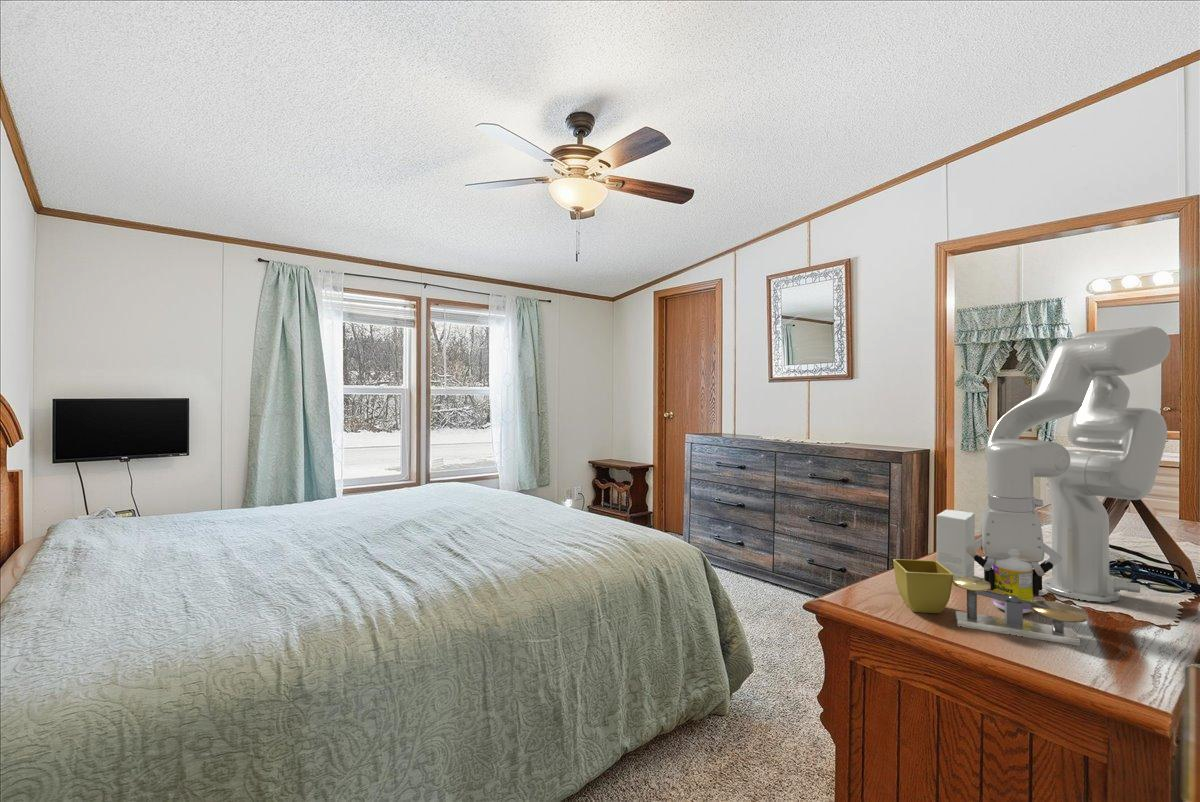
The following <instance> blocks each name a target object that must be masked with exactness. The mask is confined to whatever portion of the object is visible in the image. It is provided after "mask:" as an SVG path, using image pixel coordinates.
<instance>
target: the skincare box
mask: <svg viewBox="0 0 1200 802" xmlns="http://www.w3.org/2000/svg"><path fill="white" fill-rule="evenodd" d="M975 517H976V514H975V512H969V511H961V510H955V509H948V508H947V509H945V510H942V511H941V512H939V513H938V514H936V561H937V562H939V563H940V564H941V565H943V566H944V567H945V568H946V569H948V570H949V571H950V572H952V573H953V578H955V577H973V578H974V576H975V560H974V559H973V558H972V557H971V556H970V555H969V554H968V553H967V552H966V550H965V547H967V546H968V545H970V544H971V543H973V542H974V541H975V535H976V534H975V528H976V527H975V522H976V520H975V519H976V518H975Z"/></svg>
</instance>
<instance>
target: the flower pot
mask: <svg viewBox="0 0 1200 802" xmlns="http://www.w3.org/2000/svg"><path fill="white" fill-rule="evenodd" d="M892 560H893V563H892V564H893V569H894V577H895V585H896V587H897V590H898V592H899V595H900V596H901V598H902V600H903V603H904V604H906V606H907V607H908V608H909V609H910V610H911V612H914V613H925V614H926V613H927V614H928V613H929V614H941V612H942V611H944V609H945V608H946V606H947V605H948V602H949V601H950V598H951V593H952V586H953V573H952V572H950V571H949V570H948V569H946V568H945V567H944V566H943V565H941V564H940V563H939V562H937V560H930V559H929V560H927V559H924V560H923V559H906V558H905V559H904V558H903V559H902V558H901V559H899V558H894V559H892Z"/></svg>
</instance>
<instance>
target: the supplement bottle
mask: <svg viewBox="0 0 1200 802" xmlns="http://www.w3.org/2000/svg"><path fill="white" fill-rule="evenodd" d="M1008 554H1010V555H1009V556H1011V557H1010V558H1009V559H996V560H995V562H994V564H993V565H992V569H993V572H994V590H992V592H995V593H998V594H1002V595H1006V596H1010V595H1014V596H1017V597H1018V598H1019V599H1021V600H1025V601H1029V602H1034V593H1033V569H1034V568H1033V566H1032V565H1031V563H1030V562H1025V561H1021V560H1019V559H1018V558H1017V557H1016V556H1018V555H1020V554H1019V552H1018V550H1017V549H1010V550H1009V552H1008ZM992 603H993V605H994V606H996V607H997V608H999V609H1000V610H1003V611H1005V602H1004V601H1000V600H996V599H992ZM1031 612H1032V611H1031V610H1030V608H1026V607H1023V614H1028V613H1031Z"/></svg>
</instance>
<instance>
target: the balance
mask: <svg viewBox="0 0 1200 802" xmlns="http://www.w3.org/2000/svg"><path fill="white" fill-rule="evenodd" d="M952 585H954V586H955V587H958V588H960V589H962V590H963V589H964V590H966V611H959V610H955V620H957V621H956V624H957V627H960V626H962V627H961V628H965V629H966V628H967V629H973V630H979V631H986V632H991V633H998V634H1002V635H1003V634H1004V635H1009V634H1011V635H1010V636H1015V635H1017V637H1021V636H1023V637H1022V638H1029V639H1035V640H1041V641H1045V642H1052V643H1060V644H1063V645H1064V644H1066V645H1072V646H1077V647H1080V646H1081V641H1080V640H1081V639H1080V637H1079V636H1078V635H1077V633H1076V631H1075V630H1074V629H1073V628H1072V627H1065V626H1064V625H1065V623H1077V624H1078V623H1079V624H1081V623H1085V622H1087V621H1088V613H1087V611H1085V610H1083V609H1081V608H1080V607H1077V606H1074V605H1072V604H1071V605H1070V604H1068V603H1063V602H1057V601H1051V600H1033V602H1029V601H1025V600H1021V599H1019V598H1018V597H1017V596H1014V595H1010V596H1006V595H1002V594H998V593H995V592H993V591H992V590H991V584H990V583H989V582H987V581H985V580H984V579H981V578H978V577H974V576H973V577H955V578H953V581H952ZM978 596H982V597H985V598H989V599H992V600H993V599H996V600H1000V601H1004V602H1005V610H1004V617H999V616H993V615H992V616H991V615H986V614H979V613H978V602H977V601H978V600H977V599H978ZM1023 607H1026V608H1030V610H1031V612H1032V613H1034V614H1036V615H1038V616H1039V617H1040V616H1041V617H1043V618H1045V619H1049V620H1051V621H1052V624H1046V623H1041V622H1040V623H1039V622H1032V621H1026V620H1025V621H1024V617H1023V616H1024V613H1023Z"/></svg>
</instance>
